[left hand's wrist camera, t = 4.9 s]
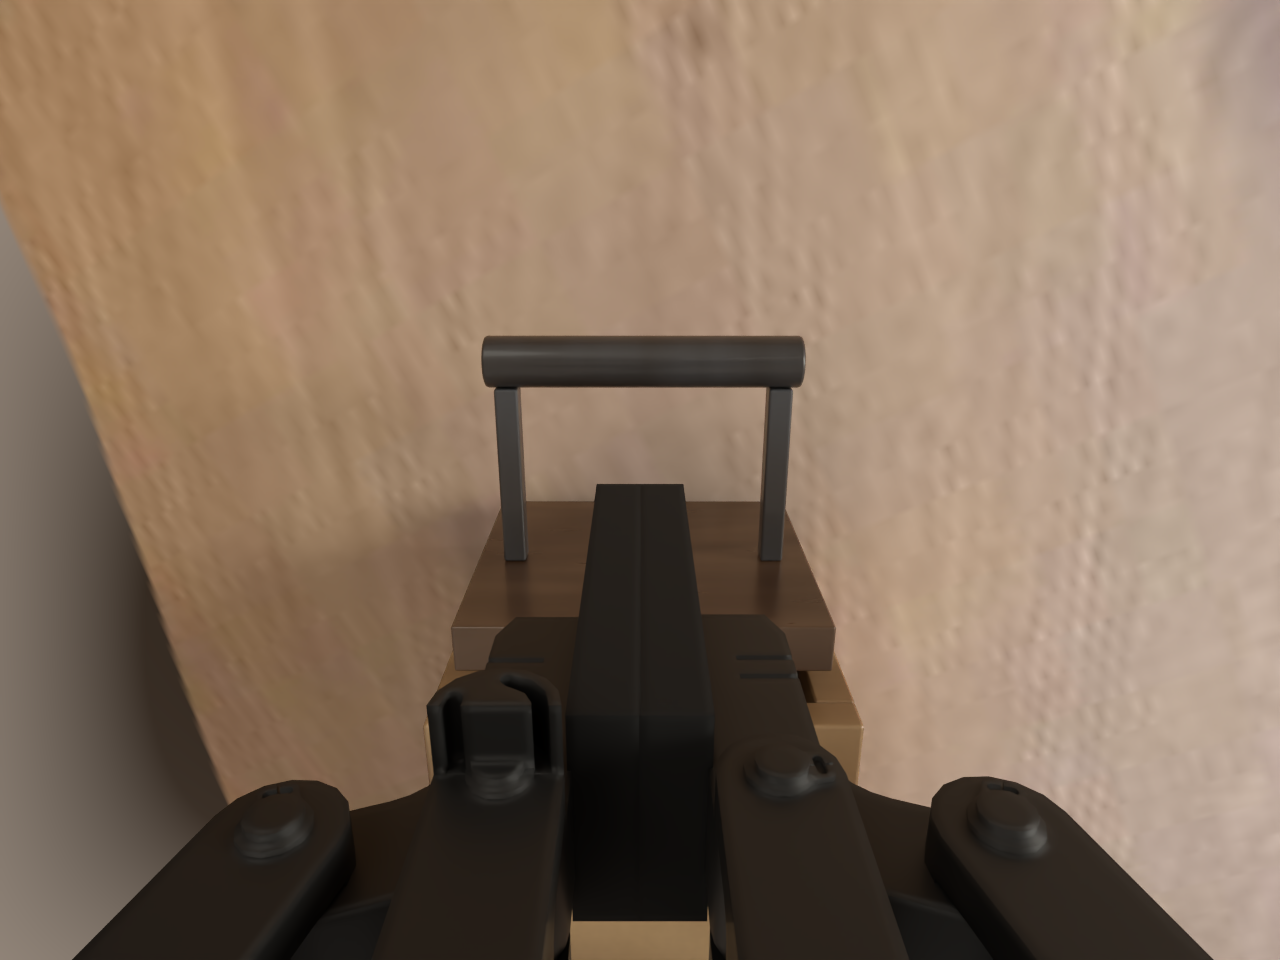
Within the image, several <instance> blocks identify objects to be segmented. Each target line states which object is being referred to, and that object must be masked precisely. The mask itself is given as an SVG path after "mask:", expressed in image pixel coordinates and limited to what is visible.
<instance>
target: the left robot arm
mask: <svg viewBox="0 0 1280 960" xmlns="http://www.w3.org/2000/svg"><path fill="white" fill-rule="evenodd" d="M427 716H428V725H429V735H430V744H431V754H432V763H433V773H434V775H433V778H432V781H431V784H430V785H429V786H428V787H426V788H423V789H421V790H419V791H417V792H415V793H413V794H411V795H409V796H406V797H403V798H400V799H397V800H393V801H390V802H386V803H382V804H378V805H373V806H369V807H365V808H361V809H356V810H352V811H350V810H349V804H348V801H347V800H346V799H345V797H344V796H343V795H342V794H341V793H340V791H339V790H338V789H337V788H335V787H332V786H330V785H327V784H324V783H322V782H319V781H308V780H290V781H285V782H281V783H276V784H272V785H267V786H264V787H261V788H259V789H257V790H255V791H253V792H250V793H248V794H246V795H244V796H242V797H240V798H237V799H236V800H235V801H233V802H232V803H231V804H230V805H228V806H227V807H226V808H224V809H223V810H222V811H221V812H219V813H218V814H217V815H215V816H214V817H213V818H212V819H211V820H210V821H209V822H208V823H207V824H206V825H205V826H204V827H203V828H202V829H201V830H200V832H198V833H197V834H196V835H195V836H194V837H193V838H192V839H191V840H190V841H189V842H188V843H187V844H186V845H185V847H183V848H182V849H181V850H180V851H179V852H178V854H177V855H176V856H175V857H174V858H173V859H172V860H171V861H170V862H169V863H168V864H167V865H166V866H165V867H164V868H163V869H162V870H161V871H160V872H159V873H158V874H157V875H156V876H155V877H154V878H153V879H152V880H151V881H150V882H149V883H148V884H147V885H146V886H145V887H144V888H143V889H142V890H141V891H140V892H139V893H138V894H137V895H136V896H135V897H134V898H133V899H132V900H131V901H130V902H129V903H128V904H127V905H126V906H125V907H124V908H123V909H122V910H121V911H120V912H119V913H118V914H117V915H116V916H115V917H114V918H113V919H112V920H111V921H110V922H109V923H108V924H107V925H106V926H105V927H104V928H103V929H102V930H101V931H100V932H99V933H98V934H97V935H96V936H95V937H94V938H93V939H92V940H91V941H90V942H89V943H88V944H87V945H86V946H85V947H84V948H83V949H82V950H81V951H80V952H79V953H78V954H77V955H76V956H75V957H74V958H73V959H72V960H571V939H570V927H571V916H573V921H707V916H708V912H709V923H710V939H709V960H1213V959H1212V958H1211V957H1210V956H1209V955H1208V954H1207V953H1206V952H1205V951H1204V950H1203V949H1202V948H1201V947H1200V946H1199V945H1198V944H1197V943H1196V942H1195V941H1194V940H1193V939H1192V938H1191V937H1190V936H1189V935H1188V934H1187V933H1186V932H1185V931H1184V930H1183V929H1182V928H1181V927H1180V926H1179V925H1178V924H1177V923H1176V922H1175V921H1174V920H1173V919H1172V918H1171V917H1170V916H1169V915H1168V914H1167V913H1166V912H1165V911H1164V910H1163V909H1162V908H1161V907H1160V906H1159V905H1158V904H1157V903H1156V902H1155V901H1154V900H1153V899H1152V898H1151V897H1150V896H1149V895H1148V894H1147V893H1146V892H1145V891H1144V890H1143V889H1142V888H1141V887H1140V886H1139V885H1138V884H1137V883H1136V882H1135V881H1134V880H1133V879H1132V878H1131V877H1130V876H1129V875H1128V874H1127V873H1126V872H1125V871H1124V870H1123V869H1122V868H1121V867H1120V866H1119V865H1118V864H1117V863H1116V862H1115V861H1114V860H1113V859H1112V858H1111V857H1110V856H1109V855H1108V854H1107V853H1106V852H1105V851H1104V850H1103V849H1102V848H1101V847H1100V846H1099V845H1098V844H1097V843H1096V842H1095V841H1094V840H1093V839H1092V838H1091V837H1090V836H1089V835H1088V834H1087V833H1086V832H1085V831H1084V830H1083V829H1082V828H1081V827H1080V826H1079V825H1078V824H1077V823H1076V822H1075V821H1074V820H1073V819H1072V818H1071V817H1070V816H1069V815H1068V814H1067V813H1066V812H1065V811H1064V810H1063V809H1061V808H1060V807H1059V806H1057V805H1056V804H1055V803H1053V802H1052V801H1051V800H1049V799H1048V798H1047V797H1046V796H1044V795H1043V794H1040V793H1038V792H1036V791H1034V790H1032V789H1029V788H1027V787H1025V786H1023V785H1021V784H1018V783H1016V782H1012V781H1007V780H1002V779H998V778H993V777H989V776H988V777H963V778H960V779H957V780H955V781H952V782H949V783H947V784H944V785H943V786H942V787H941V788H940V790H939V791H938V792H937V793H936V794H935V796H934V797H933V798H932V804H931V808H930V807H926V806H921V805H917V804H913V803H908V802H904V801H900V800H896V799H891V798H888V797H885V796H882V795H878V794H875V793H872V792H870V791H868V790H866V789H864V788H861V787H859V786H857V785H855V784H853V783H852V782H850V781H849V780H848V777H847V774H846V772H845V771H844V769H843V767H842V766H841V764H840V763H839V761H838V760H837V758H836V757H835V756H834V755H832V754H831V753H830V752H828V751H827V750H826V749H824V748H823V747H822V746H820V744H819V741H818V737H817V734H816V731H815V728H814V725H813V721H812V718H811V715H810V712H809V709H808V706H807V702H806V699H805V696H804V693H803V690H802V686H801V683H800V680H799V679H798V674H797V670H796V667H795V664H794V661H793V660H792V654H791V651H790V648H789V645H788V642H787V638H786V635H785V633H784V632H783V631H782V630H781V629H780V628H779V627H778V626H776V625H775V624H774V623H773V622H772V621H771V620H770V619H769V618H768V617H767V616H766V615H765V614H701V610H700V603H699V596H698V589H697V581H696V574H695V567H694V560H693V552H692V545H691V538H690V530H689V523H688V516H687V509H686V501H685V494H684V487H683V484H597V487H596V494H595V501H594V509H593V516H592V523H591V530H590V538H589V545H588V552H587V560H586V567H585V574H584V581H583V589H582V596H581V603H580V610H579V617H515V618H514V619H513V620H512V621H511V622H510V623H509V624H508V625H507V626H506V627H504V628H503V629H502V630H501V631H500V632H499V633H498V634H497V635H496V636H495V638H494V642H493V645H492V648H491V651H490V655H489V658H488V663H487V664H486V667H485V670H481V671H477V672H474V673H471V674H468V675H465V676H462V677H459V678H456V679H454V680H453V681H451V682H450V683H448V684H447V685H445V686H444V687H442V688H441V689H439V690H438V691H437V692H436V693H435V695H434V696H433V697H432V699H431V700H430V702H429V703H428V704H427Z"/></svg>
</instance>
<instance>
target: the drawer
mask: <svg viewBox="0 0 1280 960" xmlns="http://www.w3.org/2000/svg"><path fill="white" fill-rule="evenodd" d="M481 362H482V374H483V379H484V382H485V385H486V386H487V387H496V388H495V390H494V401H495V417H496V433H497V449H498V465H499V481H500V498H501V509H500V511H499V514H498V516H497V519H496V521H495V523H494V526H493V528H492V531H491V533H490V536H489V538H488V540H487V543H486V545H485V548H484V550H483V552H482V555H481V557H480V560H479V562H478V564H477V567H476V569H475V572H474V574H473V576H472V579H471V581H470V584H469V586H468V589H467V591H466V593H465V596H464V598H463V601H462V603H461V605H460V608H459V610H458V613H457V615H456V617H455V620H454V622H453V625H452V627H451V632H452V643H453V654H454V665H455V670H457V671H481V670H485V667H486V664H487V663H488V658H489V655H490V651H491V648H492V645H493V642H494V638H495V636H496V635H497V634H498V633H499V632H500V631H501V630H502V629H503V628H504V627H506V626H507V625H508V624H509V623H510V622H511V621H512V620H513V619H514V618H515V617H579V610H580V603H581V596H582V589H583V581H584V574H585V567H586V560H587V552H588V545H589V538H590V530H591V523H592V516H593V509H594V502H526V490H525V471H524V451H523V431H522V412H521V392H520V387H766V406H765V425H764V443H763V462H762V480H761V499H760V502H686V509H687V516H688V523H689V530H690V538H691V545H692V552H693V560H694V567H695V574H696V581H697V589H698V596H699V603H700V610H701V614H765V615H766V616H767V617H768V618H769V619H770V620H771V621H772V622H773V623H774V624H775V625H776V626H778V627H779V628H780V629H781V630H782V631H783V632H784V633H785V635H786V638H787V642H788V645H789V648H790V651H791V654H792V660H793V661H794V664H795V667H796V670H797V671H831V670H832V665H833V654H834V643H835V633H836V627H835V625H834V622H833V620H832V618H831V615H830V613H829V611H828V608H827V606H826V604H825V601H824V599H823V597H822V594H821V592H820V590H819V587H818V585H817V582H816V580H815V578H814V575H813V573H812V571H811V568H810V566H809V564H808V561H807V559H806V557H805V554H804V552H803V549H802V547H801V545H800V542H799V540H798V538H797V535H796V533H795V531H794V528H793V526H792V524H791V521H790V519H789V517H788V514H787V512H786V509H785V506H786V491H787V476H788V460H789V445H790V429H791V414H792V399H793V391H792V389H791V388H797V387H800V386H801V385H802V382H803V379H804V374H805V363H806V354H805V344H804V341H803V338H802V337H800V336H486V337H485V338H484V341H483V344H482V355H481Z"/></svg>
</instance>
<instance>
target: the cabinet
mask: <svg viewBox="0 0 1280 960" xmlns="http://www.w3.org/2000/svg"><path fill="white" fill-rule="evenodd" d="M474 672H477V671H457V670H455V665H454V654H453V652H452V654H451V657H450V659H449V662H448V664H447V667H446V669H445V672H444V674H443V677H442V680H441V682H440V685H439V687H438V690H439V689H441V688H442V687H444V686H445V685H447V684H448V683H450V682H451V681H453V680H454V679H456V678H459V677H462V676H465V675H468V674H471V673H474ZM797 674H798V679H799V680H800V683H801V686H802V690H803V693H804V696H805V699H806V702H807V706H808V709H809V712H810V715H811V718H812V721H813V725H814V728H815V731H816V734H817V737H818V741H819V744H820V746H822V747H823V748H824V749H826V750H827V751H828V752H830V753H831V754H832V755H834V756H835V757H836V758H837V760H838V761H839V763H840V764H841V766H842V767H843V769H844V771H845V772H846V774H847V777H848V780H849V781H850V782H852V783H853V784H855V785H857V784H858V775H859V766H860V757H861V748H862V739H863V730H864V726H863V724H862V721H861V719H860V716H859V714H858V711H857V709H856V706H855V704H854V700H853V698H852V695H851V693H850V690H849V688H848V685H847V683H846V680H845V678H844V675H843V673H842V670H841V668H840V665H839V663H838V660H837V658H836V655H835V653H834V654H833V665H832V670H831V671H797ZM438 690H437V691H438ZM423 729H424V738H425V748H426V757H427V766H428V775H429V785H430V784H431V781H432V778H433V775H434V773H433V763H432V754H431V744H430V735H429V725H428V716H427V718H426V721H425V724H424V726H423ZM570 939H571V960H709V939H710V923H709V912H708V916H707V921H573V916H571V927H570Z"/></svg>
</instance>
